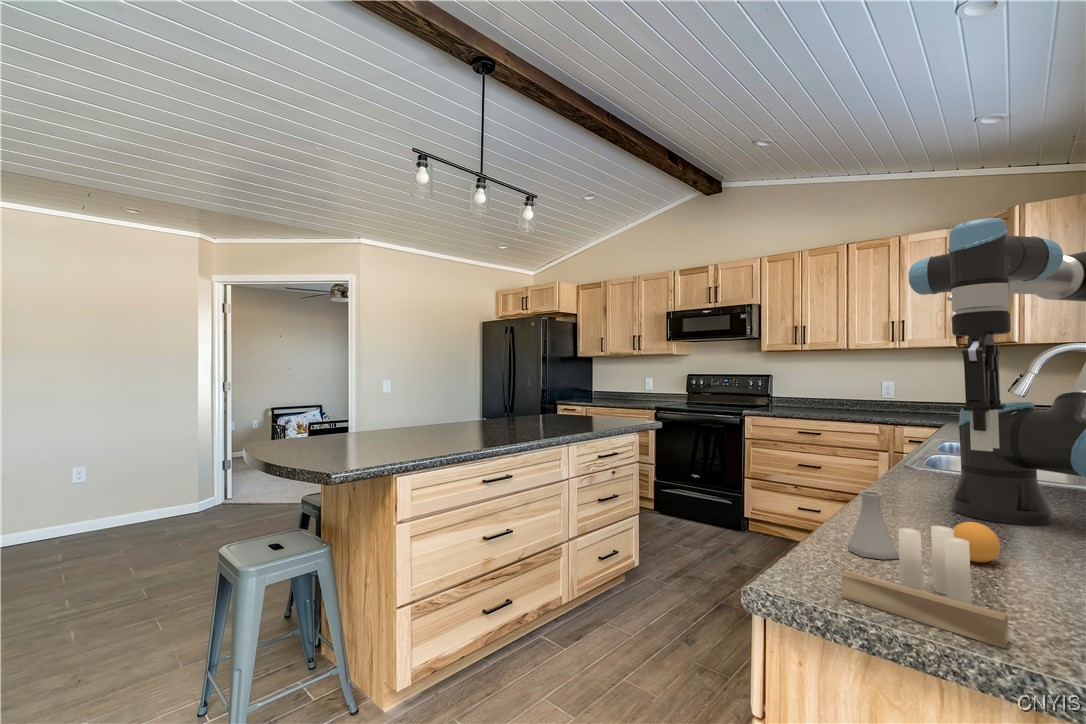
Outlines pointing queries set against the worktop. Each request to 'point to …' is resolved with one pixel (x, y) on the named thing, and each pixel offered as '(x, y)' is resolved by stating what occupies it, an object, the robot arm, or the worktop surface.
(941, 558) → the pin front
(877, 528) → the flask
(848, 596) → the back wall
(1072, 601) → the worktop surface
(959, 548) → the pin
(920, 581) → the pin
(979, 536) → the ball
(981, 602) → the worktop surface
